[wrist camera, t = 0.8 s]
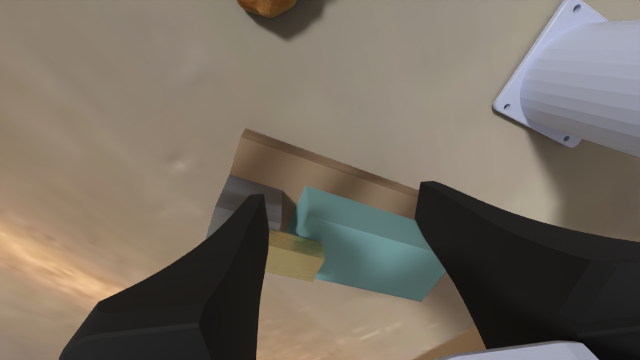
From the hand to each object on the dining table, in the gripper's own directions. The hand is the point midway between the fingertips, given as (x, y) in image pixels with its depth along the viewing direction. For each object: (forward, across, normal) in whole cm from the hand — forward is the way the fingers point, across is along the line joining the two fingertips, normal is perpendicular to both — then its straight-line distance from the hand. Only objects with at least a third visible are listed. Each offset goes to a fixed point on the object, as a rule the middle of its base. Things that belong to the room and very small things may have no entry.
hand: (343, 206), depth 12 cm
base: (+10, -1, +7) cm, 12 cm away
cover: (+8, -3, +8) cm, 11 cm away
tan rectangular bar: (+3, +4, +5) cm, 7 cm away
